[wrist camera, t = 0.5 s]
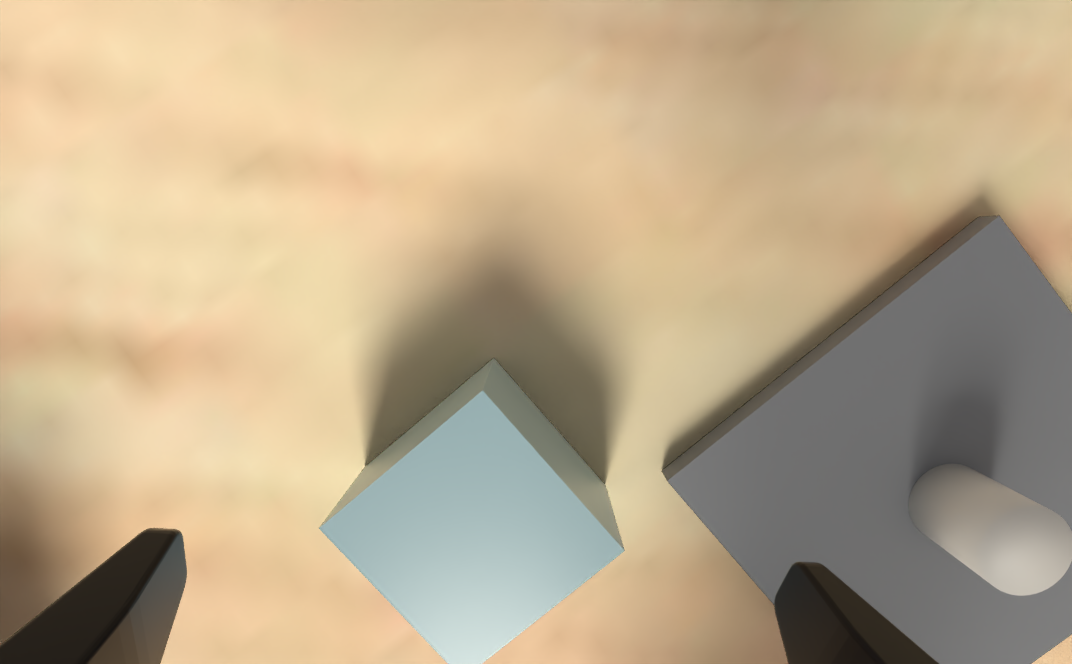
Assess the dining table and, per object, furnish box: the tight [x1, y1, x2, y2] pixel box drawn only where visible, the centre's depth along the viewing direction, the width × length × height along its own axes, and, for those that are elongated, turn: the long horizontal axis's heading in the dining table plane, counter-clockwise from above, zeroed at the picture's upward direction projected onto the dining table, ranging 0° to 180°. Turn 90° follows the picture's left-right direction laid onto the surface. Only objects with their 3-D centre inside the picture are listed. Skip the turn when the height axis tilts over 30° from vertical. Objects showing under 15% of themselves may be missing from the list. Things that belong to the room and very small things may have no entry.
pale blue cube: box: [319, 358, 625, 664], centre depth 21 cm, size 6×6×5 cm
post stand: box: [662, 216, 1072, 664], centre depth 21 cm, size 14×14×5 cm
